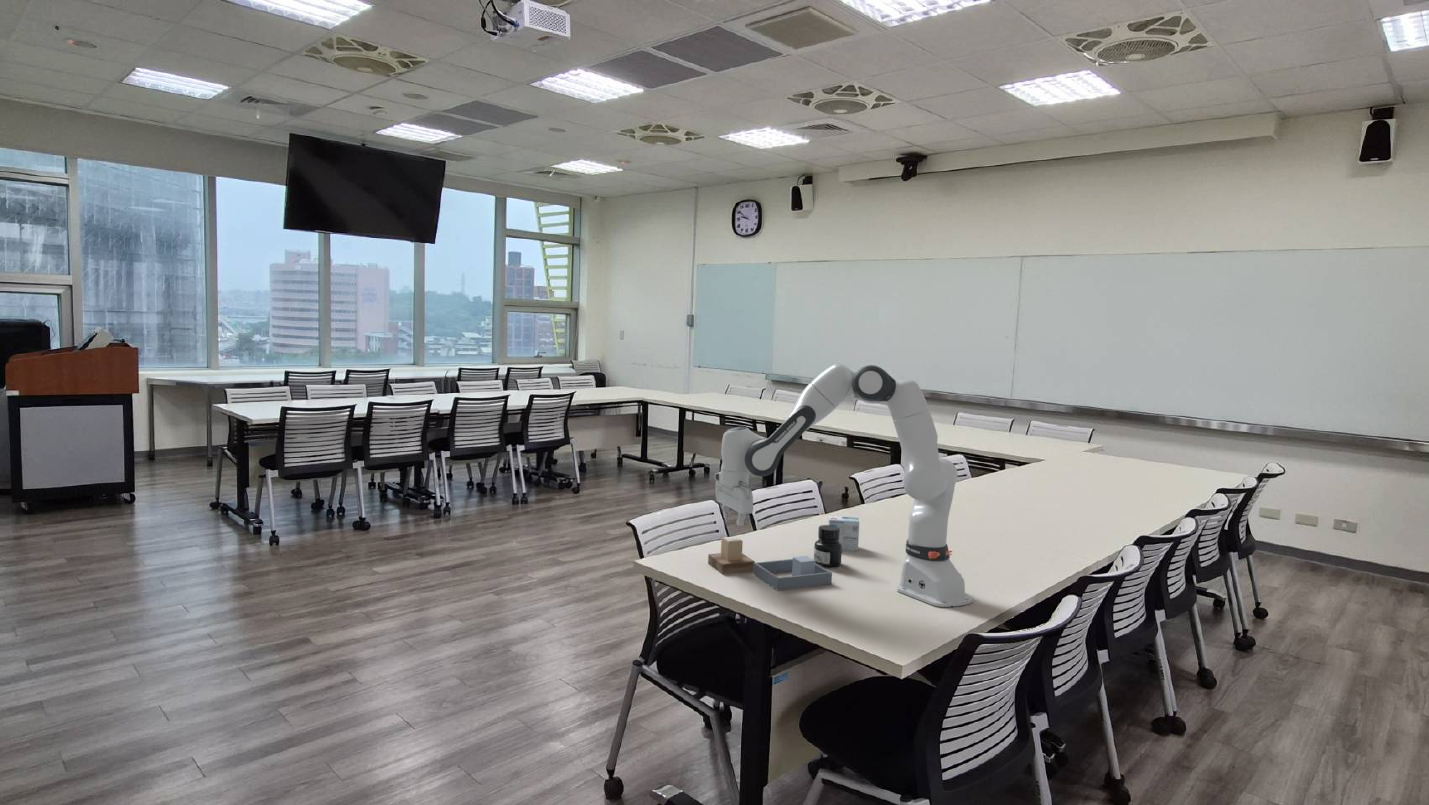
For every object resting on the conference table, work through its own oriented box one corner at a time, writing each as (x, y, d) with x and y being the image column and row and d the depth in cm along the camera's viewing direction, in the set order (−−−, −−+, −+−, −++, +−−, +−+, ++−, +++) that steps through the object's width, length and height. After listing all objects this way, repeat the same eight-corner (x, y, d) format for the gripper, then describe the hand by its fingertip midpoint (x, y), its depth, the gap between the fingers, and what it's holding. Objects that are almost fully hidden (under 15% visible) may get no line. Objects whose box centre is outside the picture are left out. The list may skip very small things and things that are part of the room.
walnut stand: (754, 570, 245) (754, 561, 245) (722, 574, 240) (722, 564, 240) (738, 560, 255) (739, 551, 255) (708, 563, 250) (708, 554, 250)
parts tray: (831, 584, 235) (832, 572, 235) (777, 590, 228) (777, 578, 227) (804, 568, 249) (805, 557, 249) (752, 573, 242) (753, 562, 241)
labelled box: (741, 559, 246) (742, 540, 245) (727, 560, 244) (728, 541, 243) (735, 554, 251) (735, 536, 250) (720, 556, 248) (721, 537, 248)
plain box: (814, 579, 239) (815, 560, 238) (800, 581, 237) (801, 562, 236) (805, 574, 243) (806, 555, 243) (791, 576, 241) (792, 557, 241)
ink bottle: (808, 560, 258) (810, 524, 257) (831, 558, 261) (833, 523, 260) (822, 569, 249) (824, 532, 248) (846, 567, 252) (848, 530, 251)
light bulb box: (856, 546, 277) (858, 516, 276) (858, 551, 270) (860, 521, 269) (826, 544, 278) (828, 514, 277) (827, 549, 271) (829, 519, 270)
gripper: (759, 484, 236) (757, 529, 238) (730, 472, 255) (728, 513, 256) (740, 485, 234) (738, 530, 235) (712, 473, 252) (711, 515, 254)
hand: (733, 521), depth 246 cm, fingers open, 8 cm apart
